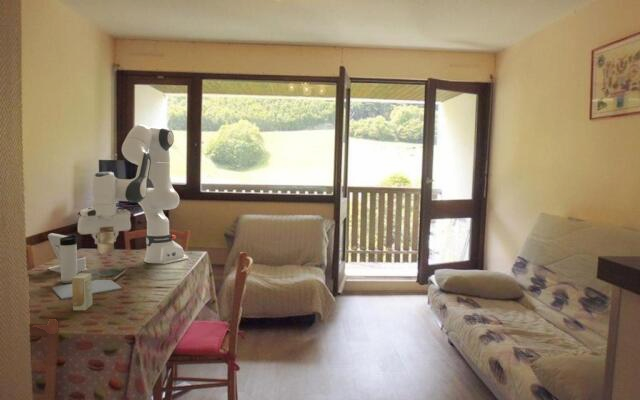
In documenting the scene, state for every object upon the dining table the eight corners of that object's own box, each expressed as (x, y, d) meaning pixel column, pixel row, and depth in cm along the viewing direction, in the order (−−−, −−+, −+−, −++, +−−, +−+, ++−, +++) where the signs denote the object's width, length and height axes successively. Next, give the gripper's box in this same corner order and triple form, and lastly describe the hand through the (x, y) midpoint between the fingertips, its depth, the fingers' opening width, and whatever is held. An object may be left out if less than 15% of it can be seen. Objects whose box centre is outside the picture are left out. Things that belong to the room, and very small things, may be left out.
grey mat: (108, 279, 189) (108, 277, 189) (121, 289, 176) (121, 287, 176) (51, 288, 174) (51, 286, 174) (61, 299, 161) (61, 298, 161)
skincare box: (80, 304, 156) (80, 272, 155) (92, 304, 157) (92, 272, 155) (72, 310, 150) (71, 277, 149) (84, 310, 150) (83, 277, 149)
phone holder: (88, 270, 203) (87, 233, 201) (67, 274, 194) (66, 236, 192) (67, 265, 211) (66, 229, 209) (46, 269, 202) (45, 232, 200)
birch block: (110, 250, 181) (109, 225, 180) (114, 252, 177) (113, 226, 176) (97, 251, 177) (97, 226, 176) (101, 254, 174) (100, 228, 173)
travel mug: (81, 280, 186) (80, 236, 184) (68, 284, 180) (67, 238, 178) (71, 278, 188) (69, 234, 187) (57, 282, 182) (56, 237, 180)
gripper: (127, 208, 185) (128, 238, 186) (75, 211, 171) (76, 244, 172) (133, 209, 180) (133, 241, 182) (80, 212, 166) (81, 246, 168)
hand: (105, 242), depth 177 cm, fingers closed on birch block, 5 cm apart
